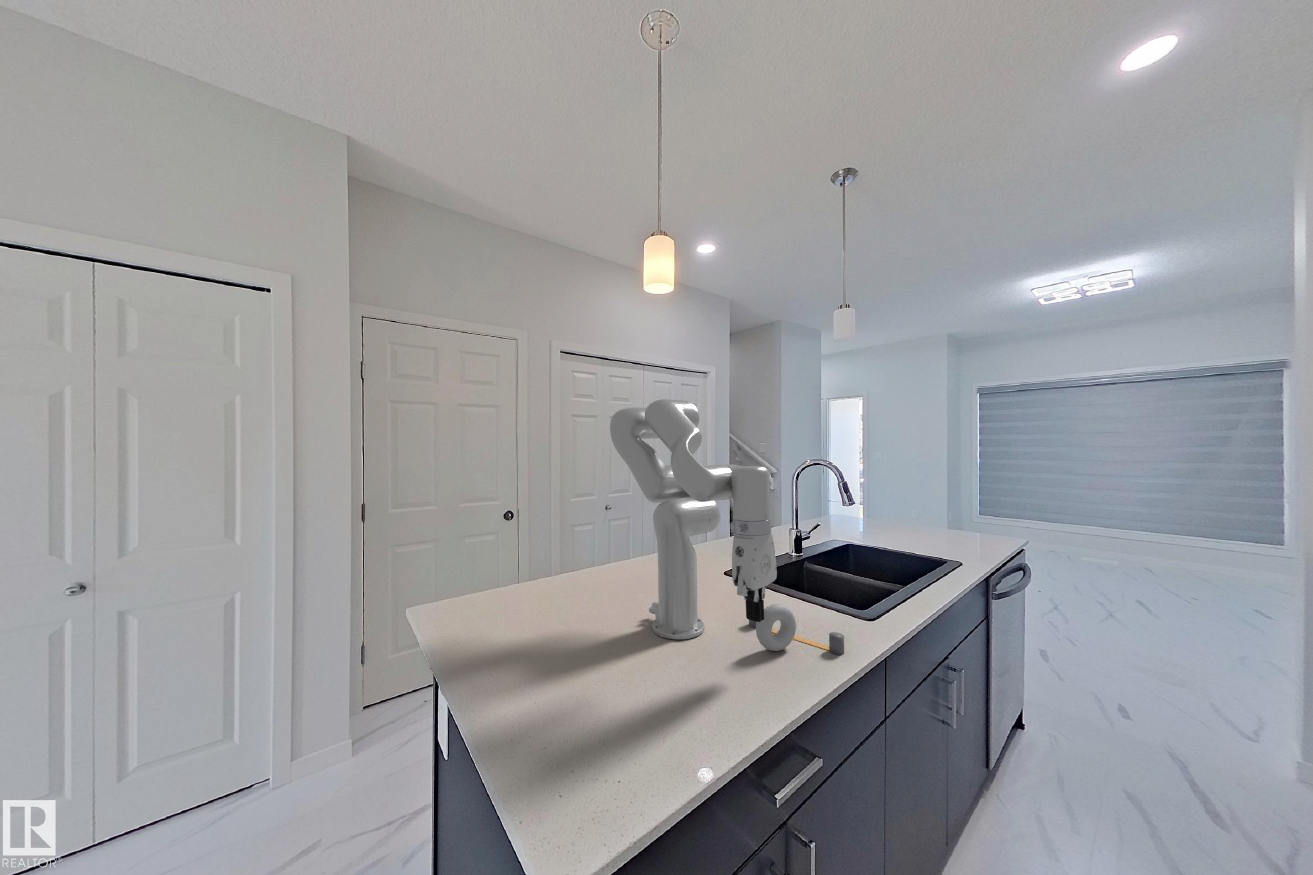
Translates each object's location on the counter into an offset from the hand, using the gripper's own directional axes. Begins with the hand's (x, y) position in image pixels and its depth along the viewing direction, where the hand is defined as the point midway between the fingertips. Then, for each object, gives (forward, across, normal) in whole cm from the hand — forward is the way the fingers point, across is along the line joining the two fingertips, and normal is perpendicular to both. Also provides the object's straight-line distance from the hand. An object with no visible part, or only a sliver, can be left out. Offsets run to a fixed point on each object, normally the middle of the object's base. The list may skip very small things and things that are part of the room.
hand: (755, 619), depth 89 cm
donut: (+10, +10, +1) cm, 14 cm away
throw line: (+10, +18, +1) cm, 21 cm away
